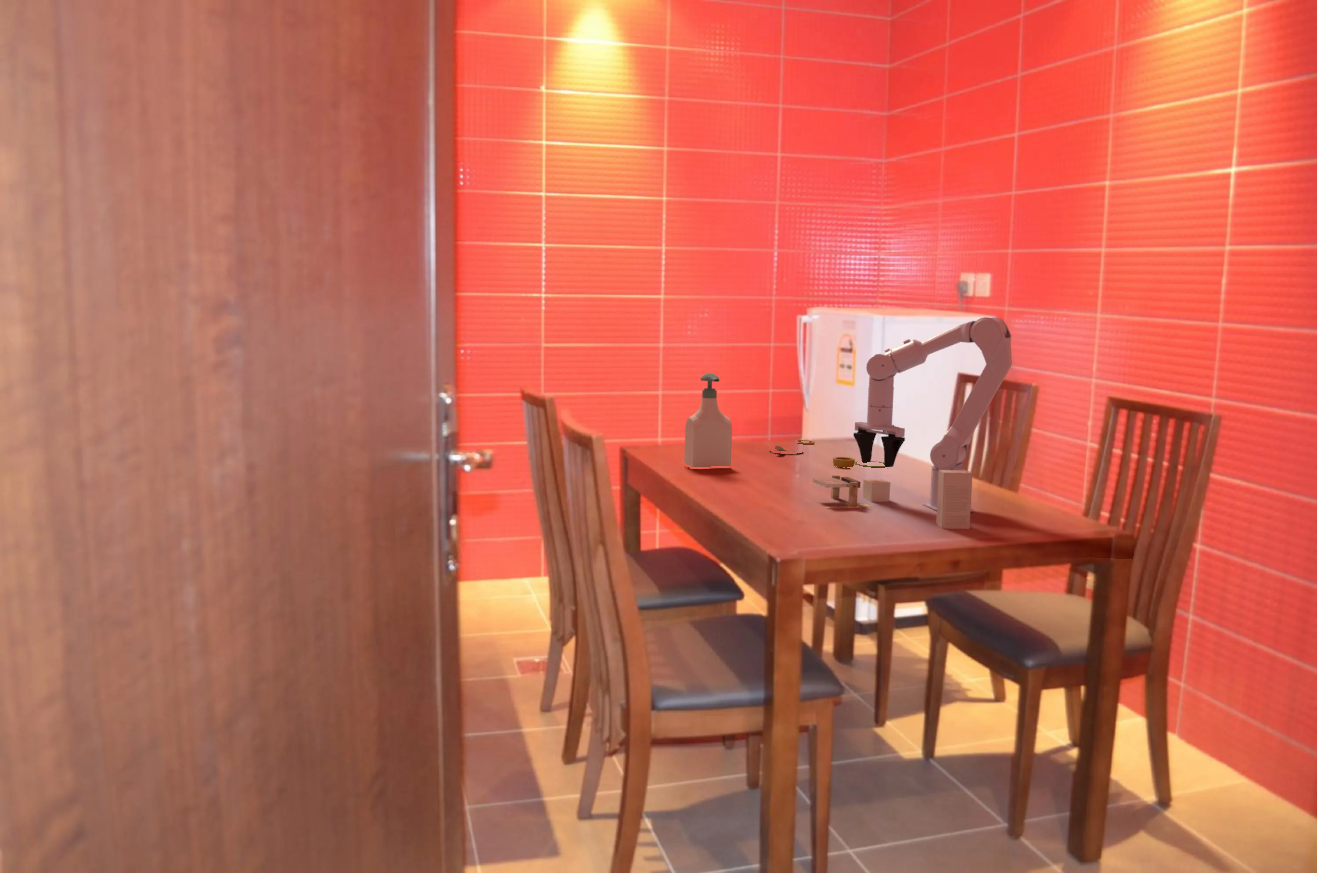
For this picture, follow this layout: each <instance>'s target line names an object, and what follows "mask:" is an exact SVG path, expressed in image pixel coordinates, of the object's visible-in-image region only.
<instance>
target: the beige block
mask: <svg viewBox="0 0 1317 873" xmlns="http://www.w3.org/2000/svg"><path fill="white" fill-rule="evenodd" d="M890 492H891V481H888V480H884V479H882V478H871V479H869V478H868V479H866V478H865V479H863V481H862V499H864V500H866V501H868V502H870V503H877V502H881V503H882V502H890V497H891V496H890V494H891V493H890Z"/></svg>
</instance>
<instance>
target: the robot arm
mask: <svg viewBox="0 0 1317 873" xmlns="http://www.w3.org/2000/svg"><path fill="white" fill-rule="evenodd" d="M1011 341H1012V333H1011V331H1010V330H1009V328H1008V325H1007V323H1006V322H1005V321H1004V320H1003V319H1001V318H998V317H994V316H993V317H990V316H989V317H987V316H984V317H980V318H978V319H977V320H972V321H968V322H967V321H966V322H965V323H962V324H959V325H956V326H954V327H952V328H949V329H948V330H946V331H944V332H941V333H939V334H937V335H935V336H933V337H931V338H929V339H926V340H924V341H919V340H917V339H912V340H911V339H909V338H908V339H905V340H904V341H903V344H901V345H899V346H896V347H895V348H892V349H891V348H886V349H884V353H883V354H882V353H878V354H877V353H876V354H875V355H873V356H872V357H871V358H869V360H868V361H867V363H866V368H865V369H866V372H867V374H868V376H869V379H868V380H869V381H868V390H867V392H868V393H867V395H868V396H867V414H866V415H867V416H866V422H865V421H863V422H862V421H855V422H854V431H856V432H853V437H854V439H855V441H856V443H857V446H858V449H859V454H860V458H861V461H862V462H863V463H867V462H870V461H872V454H873V448H874V444H875V443H874V442H875V440H876V439H875V438H876V436H877V434H879V435H882V436H881V437H880V438H881V443H882V446H883V462H884V465H885V467H889V468H893V467H894V465H895V461H896V458H897V455H898V454H899V451H900V449H901V447H902V446H903V444H904V442H905V441H906V437H905V434H906V433H905V432H906V430H905V428H904V427H900V426H896V425H895V424H893V415H894V414H893V412H894V411H893V408H894V391H895V390H894V389H895V386H894V384H895V382H894V381H895V380H894V379H895V376H896V375H897V374H901V373H903V372H905V371H908V370H910V369H913V368H915V367H917V366H920V365H922V364H925V362H926V360H927V358H928V356H929V355H930V354H934V353H936V352H939V351H941V350H944V349H946V348H949V347H952V346H954V345H956V344H959V343H968V344H969V343H972V344H973V343H974V344H975V345H976V346H977V347H978V348H979V350H980V351H981V354H982V357H983V359H984V361H985V366H984V368H983V370H982V372H981V373H980V375H979V377H978V378H977V380H976V382H975V383H974V386H973V387H972V389H971V391H970V393H969V395H968V397H966V400H965V401H964V403H963V405H962V407H961V409H960V410H959V412H958V414H957V416H956V418H955V419H954V421H953V423H952V425H951V426H950V427H949V429H948V430H947V431H946V432H945V434H944V435H943V438H942V439H941V440H939V442H937V443H936V444H934V445H933V446H932V448H931V449H930V454H929V457H930V461H931V463H932V464H933V465H932V466H931V472H930V473H931V476H930V495H929V496H930V497H929V502H923V503H922V504H921V505H922V506H923V507H926V508H929V509H932V510H934V511H937V497H938V471H939V470H966V468H965V465H964V464H963V463H964V461H965V460H966V458H967V456H968V448H969V445H970V443H971V441H972V436H973V434H974V432H975V431H976V429H977V428H978V425H979V423H980V422H981V421H982V419H983V416H984V415H985V413H986V411H987V410H988V408H989V406H990V404H991V402H992V400H993V399H994V397H995V395H996V394H997V392H998V390H999V388H1000V387H1001V385H1002V383H1003V382H1004V380H1005V378H1006V376H1007V374H1008V373H1009V371H1010V369H1011V368H1012V364H1013V359H1012V357H1013V356H1012V344H1011ZM883 435H885V436H883ZM973 512H975V510H974V509H973V508H971V511H970V513H973Z"/></svg>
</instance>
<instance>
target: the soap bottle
mask: <svg viewBox="0 0 1317 873" xmlns="http://www.w3.org/2000/svg"><path fill="white" fill-rule="evenodd" d="M700 381H702V382H703V381H704V382H707V387H705V388H703V389H702V393H701V402H700V406H699V408H698V409H697V411H696V412H695V413H693V414H692V415H691V416H689V417H687V419H686V422H685V426H684V457H683V458H684V462H683V463H686V464H687V465H690V466H691V467H711V466H731V467H732V443H733V442H732V440H733V439H732V438H733V427H732V421H731V419H730V418H729V416H726V415H725V414H724V413H723V412H722V411H721V410H720V408H719V406H718V399H717V398H718V396H717V393H718V391H717V390H716V388H713V382H714V383H715V382H717V383H719V382H720V378H719V376H718V375H716V374H714V373H711V372H708V373H705V374H703V375H702V376H701V377H700Z"/></svg>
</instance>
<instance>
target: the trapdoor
mask: <svg viewBox="0 0 1317 873" xmlns="http://www.w3.org/2000/svg"><path fill="white" fill-rule="evenodd" d="M841 480H842V481H841ZM844 481H845V482H844ZM846 482H847V483H846ZM850 482H857V483H858V489H860V488H861V481H860V480H857V479H854V478H852V477H849V476H840V480H839V479H836V478H832V477H830V478H829V477H827V478H826V477H825V478H824V477H823V478H812V483H813V484H816V485H820V486H822V487H824V488H827V489H828V488H830V489H832V488H836V487H840V488H849V483H850Z"/></svg>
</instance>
